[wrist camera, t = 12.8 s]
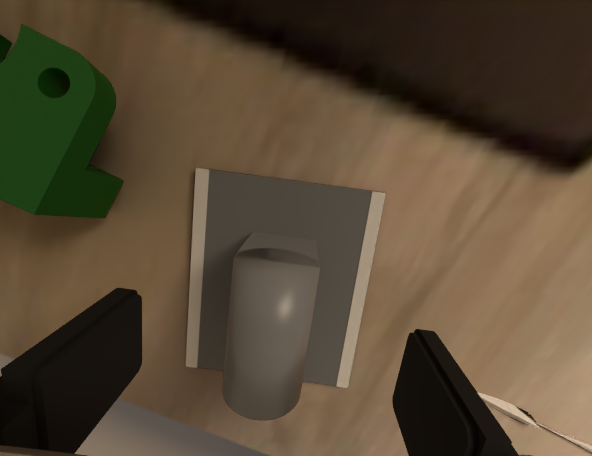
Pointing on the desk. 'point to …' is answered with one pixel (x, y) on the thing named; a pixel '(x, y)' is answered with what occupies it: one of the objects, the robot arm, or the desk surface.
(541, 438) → the desk surface
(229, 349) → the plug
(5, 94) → the clamp
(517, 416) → the stylus
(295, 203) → the mat
